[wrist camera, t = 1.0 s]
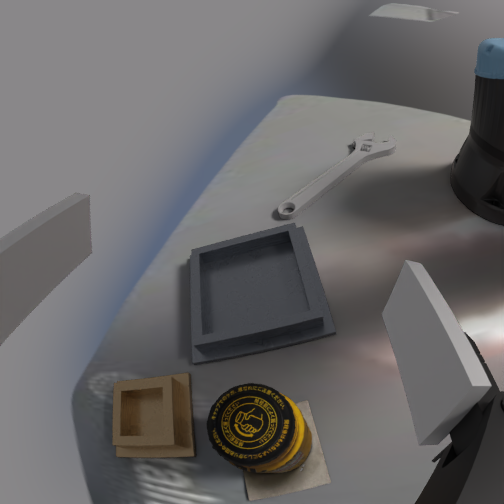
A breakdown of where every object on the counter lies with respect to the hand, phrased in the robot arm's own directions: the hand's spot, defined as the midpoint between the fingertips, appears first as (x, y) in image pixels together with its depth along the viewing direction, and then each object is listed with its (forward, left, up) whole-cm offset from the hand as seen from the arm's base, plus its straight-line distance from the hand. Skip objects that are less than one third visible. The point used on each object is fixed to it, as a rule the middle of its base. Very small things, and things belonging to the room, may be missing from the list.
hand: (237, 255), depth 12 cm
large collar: (+3, -13, -21) cm, 25 cm away
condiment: (+3, +5, -21) cm, 22 cm away
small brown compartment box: (+15, 0, -21) cm, 26 cm away
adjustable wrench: (-13, -30, -22) cm, 40 cm away
